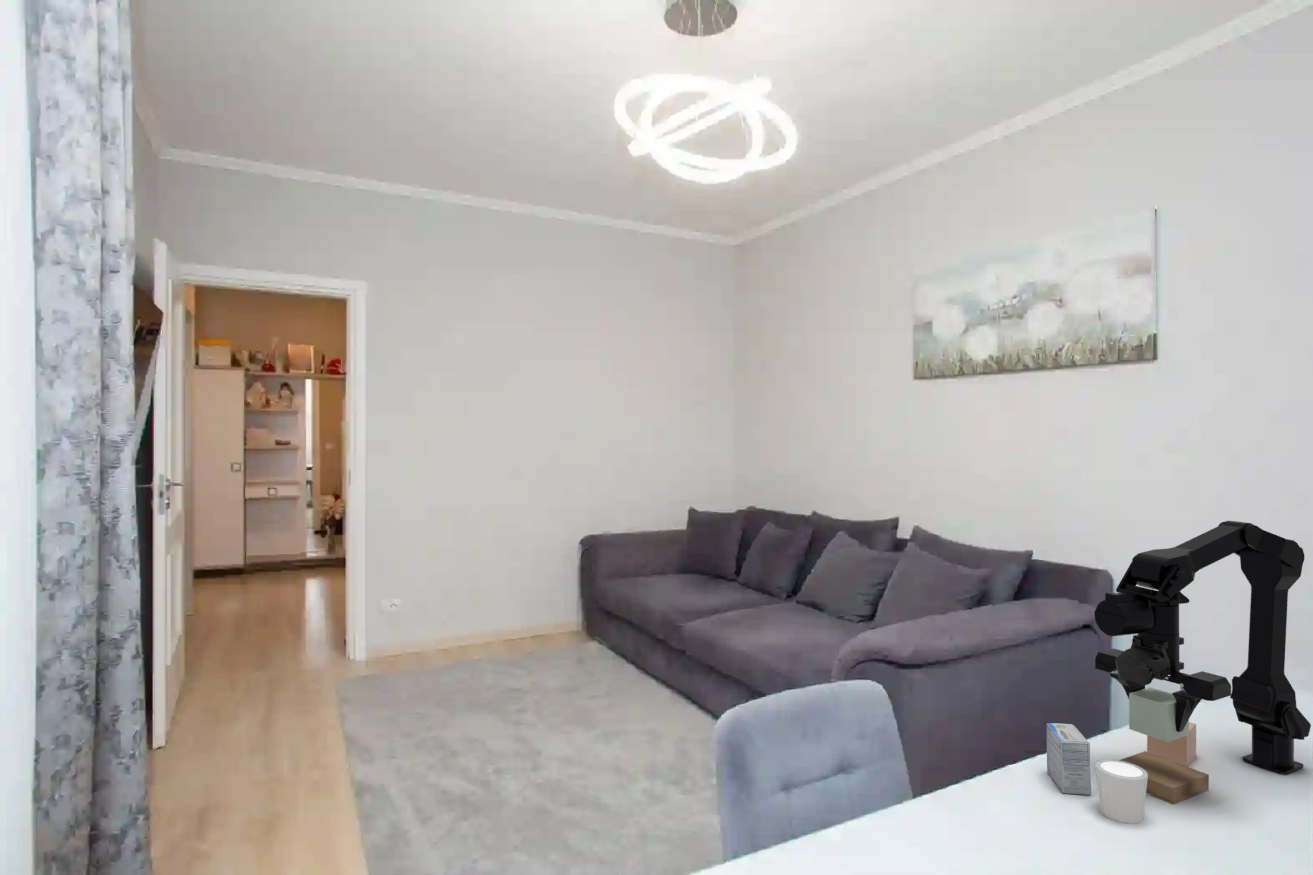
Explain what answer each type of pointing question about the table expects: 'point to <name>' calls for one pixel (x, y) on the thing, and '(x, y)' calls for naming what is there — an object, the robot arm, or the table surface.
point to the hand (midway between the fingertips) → (1158, 724)
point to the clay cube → (1175, 747)
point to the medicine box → (1068, 758)
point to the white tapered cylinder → (1121, 790)
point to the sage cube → (1154, 714)
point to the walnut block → (1169, 778)
